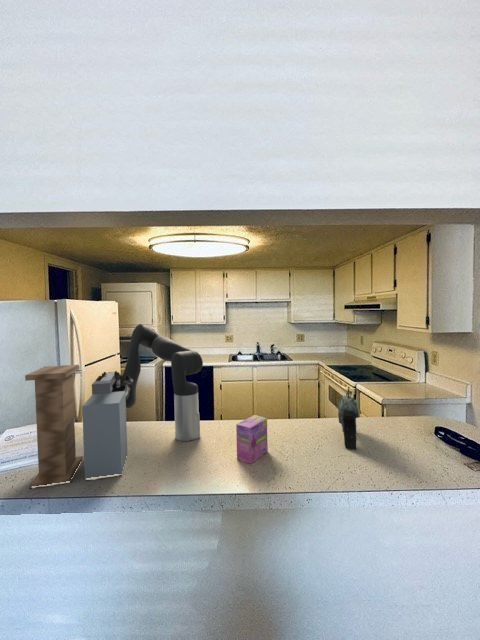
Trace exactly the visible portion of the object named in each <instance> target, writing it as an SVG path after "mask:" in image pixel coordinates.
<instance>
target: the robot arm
mask: <svg viewBox="0 0 480 640" xmlns="http://www.w3.org/2000/svg"><path fill="white" fill-rule="evenodd" d="M140 345H141V346H142V347H146V348H148V349H151V351H152V354H154V355H155V356H157V357H158V358H159V359H161V360H163V361H166V362H170V368H171V379H172V387H173V401H174V403H173V404H174V429H175V430H174V436H175V437H174V438H175V439H176V441H179V440H180V441H179V442H190V440H191V441H195V440H196V439H200V438H201V421H200V412H199V407H200V406H199V403H200V402H199V385H198V384H197V383H194V382H191V381H187V379H186V376H191V375H195V374H197V373H199V372H201V370H202V369H203V365H204V362H203V359H202V356H201V354H199V353H198V351H196V350H194V349H191V348H188V347H185V346H183V345H181V344H179V343H178V342H176V341H174V340H172V338H171V339H170V338H169V337H167V336H163V335H160V334H159V333H158V332H157V331H156V330H154V329H153V328H151V327H150V326H147V325H145V324H144V323H139V324H138V325H136V326H135V328H134V329H133V331H132V334H131V337H130V342H129V347H128V354H127V359H126V364H125V368H124V370H123V374H121V373H120V372H118V371H117V370H116V371H113V372H114V375H115V376H114V377H115V379H116V381H115V382H114V384H113V385H112V387H113V390H112V391H111V392H119V391H125V399H126V409H131V408H133V407H134V406H135V404H136V400H137V399H136V398H137V393H136V392H137V386H138V385H137V384H138V382H139V381H138V380H139V378H140V375H141V369H142V365H141V359H140V351H139V348H140ZM107 373H108V372H107V371H104V372H102V373H101V375H98V377H97V378H96V379H95V380H94V382H95V381H100V380H101V379H102V378H103V377H104V376H105V375H106V374H107Z"/></svg>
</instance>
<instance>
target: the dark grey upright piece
mask: <svg viewBox="0 0 480 640" xmlns="http://www.w3.org/2000/svg"><path fill="white" fill-rule="evenodd" d="M355 398H356V397H355V395H353V396H350V386H348V387H347V392H346V395H342V396H341V400H340V401H339V400H338V410H337V412H338V413H337V415H338V416H337V417H338V422H339V424H340V425H341V429H342V432H343V442H344V448H345V449H346V450H357V418H359V408H358V402H357V399H355Z"/></svg>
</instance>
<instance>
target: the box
mask: <svg viewBox="0 0 480 640" xmlns="http://www.w3.org/2000/svg"><path fill="white" fill-rule="evenodd" d="M235 427H236V428H235V429H236V432H235V433H236V459H237V460H238V461H240V460H241V461H240V462H243V461H244V462H243V463H246V464H248V465H251V464H253V462H255V461H256V460H258V459H259V458H261V457H262V456H263V455H265V454H266V453H267V452H268V418H267V417H264V416H260V415H257V414H253V415H252V416H249V417H247V418H246V419H244V420H242V421H240V422H237V423H236V426H235Z"/></svg>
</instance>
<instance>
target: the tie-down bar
mask: <svg viewBox="0 0 480 640" xmlns="http://www.w3.org/2000/svg"><path fill="white" fill-rule="evenodd" d="M114 372H115V371H108V372H106V373H107V374H106V375H105V376H104V377H103V378H102V379H101V380H100V381H95V380H94V382H92V383H91V395H93V394H105V393H111V391H112V390H113V387H112V385H113V384H114V382H115V381H116V379H115V377H114V376H115V375H114Z"/></svg>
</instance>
